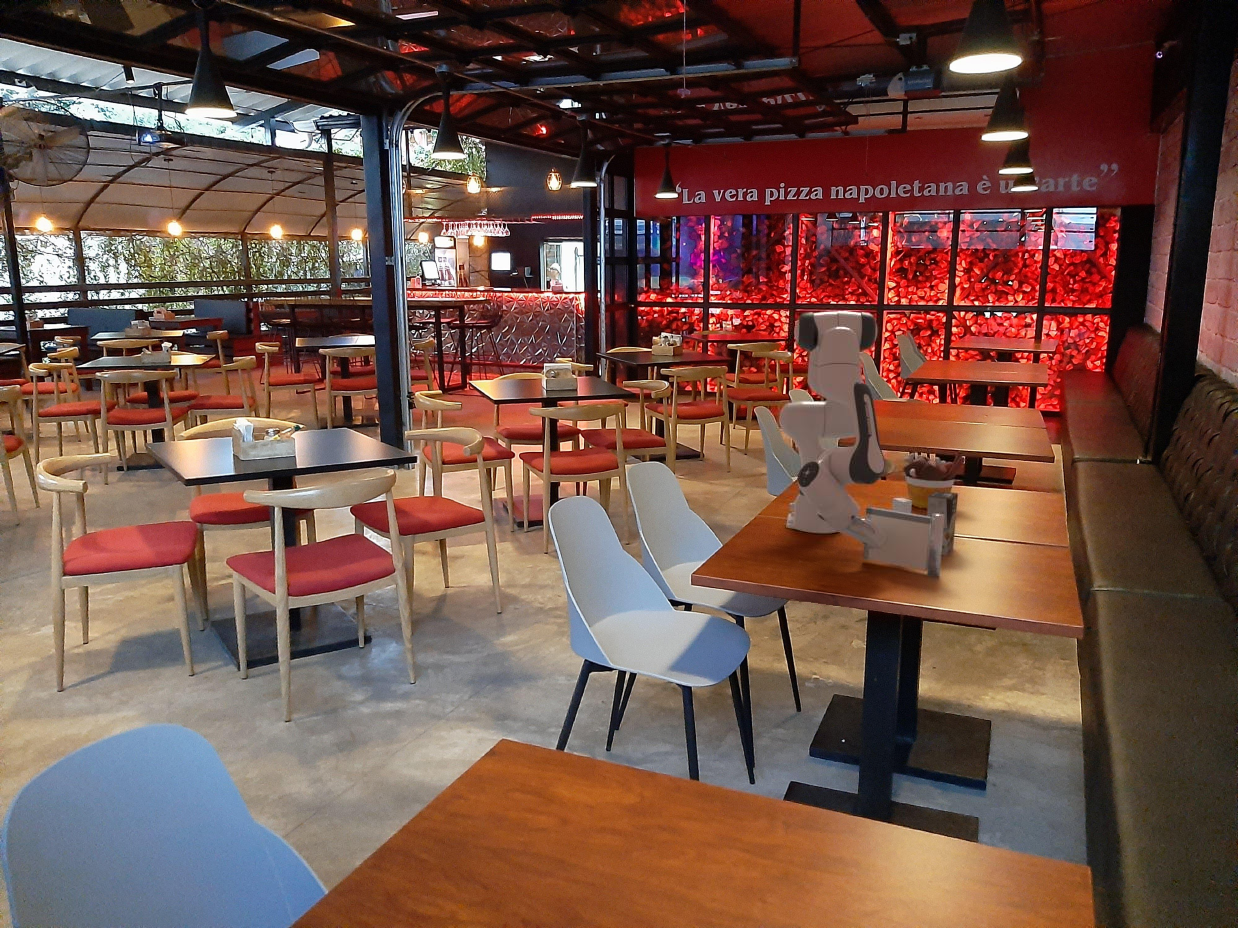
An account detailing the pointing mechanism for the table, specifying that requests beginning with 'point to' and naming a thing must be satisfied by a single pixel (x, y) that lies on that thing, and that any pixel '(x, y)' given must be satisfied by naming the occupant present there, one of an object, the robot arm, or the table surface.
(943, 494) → the coffee box
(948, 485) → the bucket of meat
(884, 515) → the gate
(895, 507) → the post
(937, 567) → the hinge post
